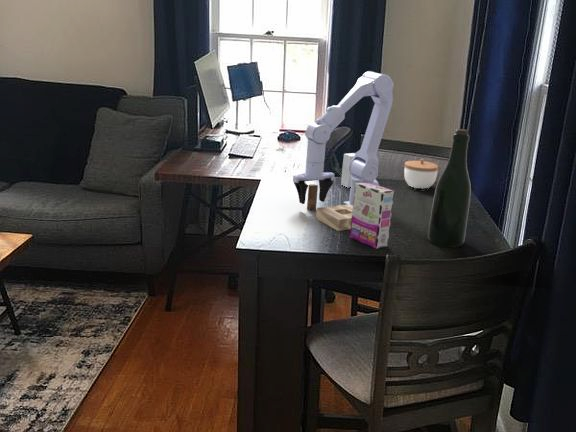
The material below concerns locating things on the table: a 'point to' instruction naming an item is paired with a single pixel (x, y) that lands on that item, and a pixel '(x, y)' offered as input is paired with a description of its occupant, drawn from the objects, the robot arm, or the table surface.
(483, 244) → the table surface
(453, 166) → the beer bottle
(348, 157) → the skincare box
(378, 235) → the candy bar box
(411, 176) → the lidded bowl
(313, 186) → the peg
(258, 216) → the table surface
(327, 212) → the holder block
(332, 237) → the table surface
